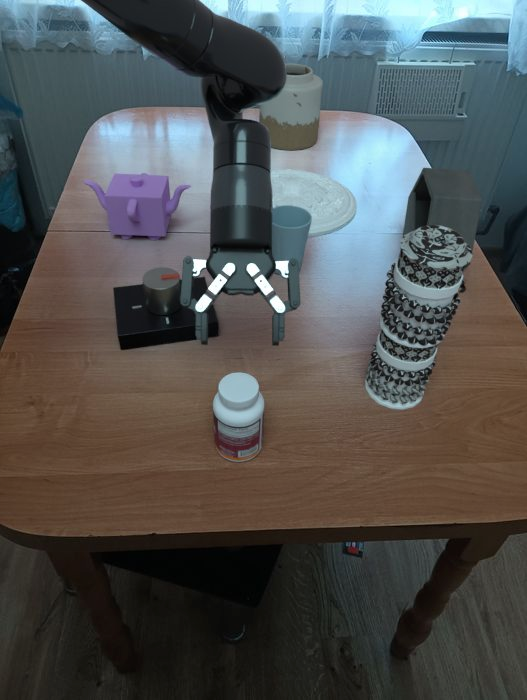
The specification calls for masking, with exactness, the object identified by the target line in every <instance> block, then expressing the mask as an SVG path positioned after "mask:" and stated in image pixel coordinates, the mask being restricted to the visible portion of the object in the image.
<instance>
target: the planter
mask: <svg viewBox="0 0 527 700" xmlns="http://www.w3.org/2000/svg"><path fill="white" fill-rule="evenodd" d="M482 204H483V197H482V195H481V193H480V191H479V189H478V186H477V185H476V183H475V181H474V177H472V174H471V172H470V170H464V169H449V168H436V167H422V169H421V172H420V173H419V175H418V176H417V179H416V181H415V183H414V185H413V187H412V189H411V191H410V193H409V195H408V197H407V204H406V211H405V218H404V225H403V231H402V238H403V237H404V235H406V234H408V233H410V232H412V231H415V230H416V229H418V228H420V227H422V226H428V225H438V226H444V227H447V228H450V229H452V230H454V231H456V232H458V233H459V234H460V235H461V236H462V237H463V238H464V240H465V243H466V244H467V245H468V246H469V247H471V250H472V252H473V251H474V245H475V239H476V234H477V229H478V225H479V219H480V214H481V209H482ZM402 238H401V239H402ZM470 265H471V261H470V262H469V263H467V264H466V266H465V269H464V271H465V270H466V269H467V268H468V267H469V266H470Z"/></svg>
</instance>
